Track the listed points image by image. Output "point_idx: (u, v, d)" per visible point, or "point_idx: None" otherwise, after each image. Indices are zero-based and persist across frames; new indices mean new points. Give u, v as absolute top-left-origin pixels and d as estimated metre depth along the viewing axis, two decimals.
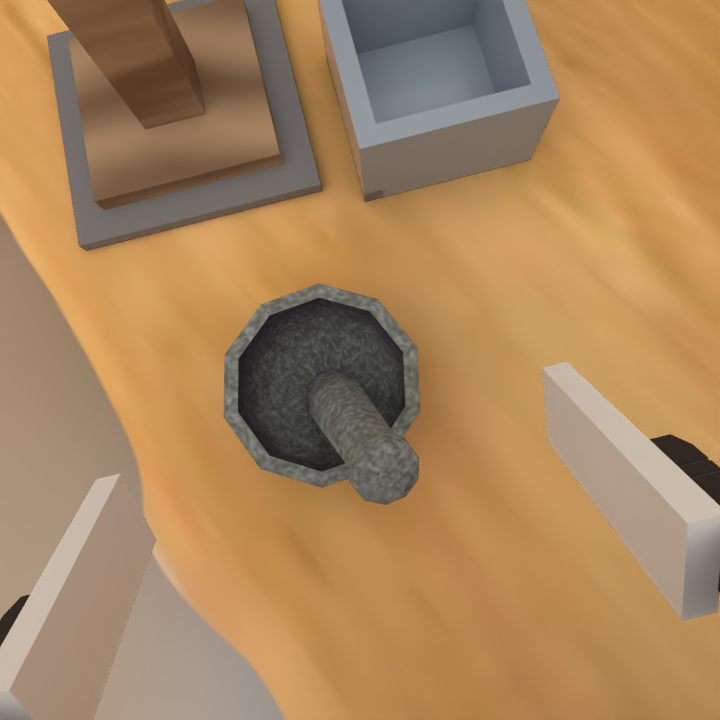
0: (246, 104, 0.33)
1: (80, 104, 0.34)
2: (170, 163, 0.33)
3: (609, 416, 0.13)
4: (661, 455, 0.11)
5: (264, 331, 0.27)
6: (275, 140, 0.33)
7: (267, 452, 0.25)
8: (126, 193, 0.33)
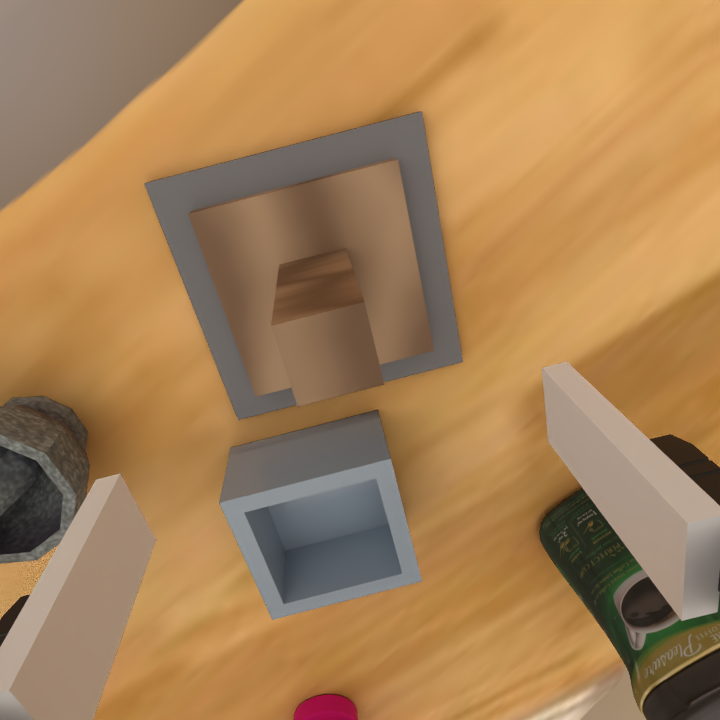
0: None
1: (310, 184, 0.29)
2: (240, 294, 0.31)
3: (609, 416, 0.13)
4: (661, 455, 0.11)
5: None
6: (269, 392, 0.34)
7: None
8: None
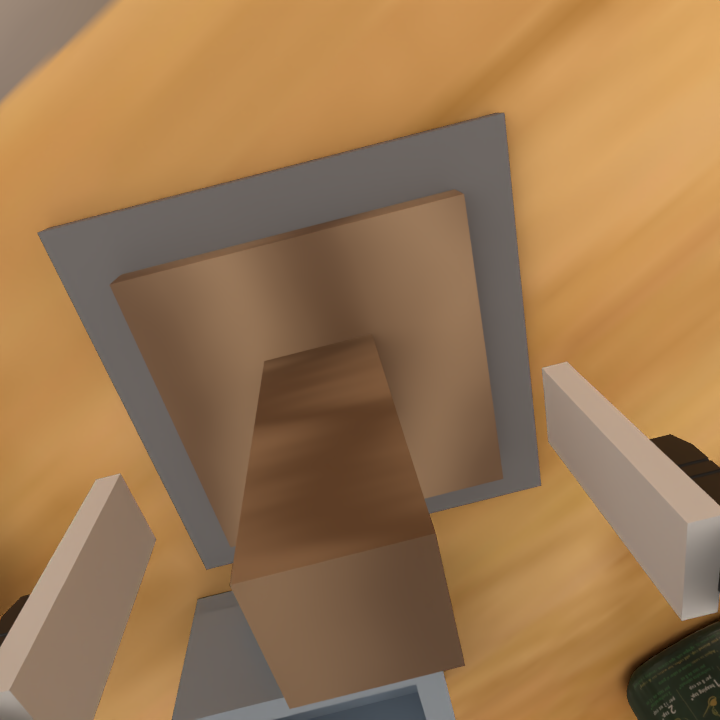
0: None
1: (315, 235, 0.17)
2: (202, 406, 0.19)
3: (609, 416, 0.13)
4: (661, 455, 0.11)
5: None
6: None
7: None
8: (136, 340, 0.18)
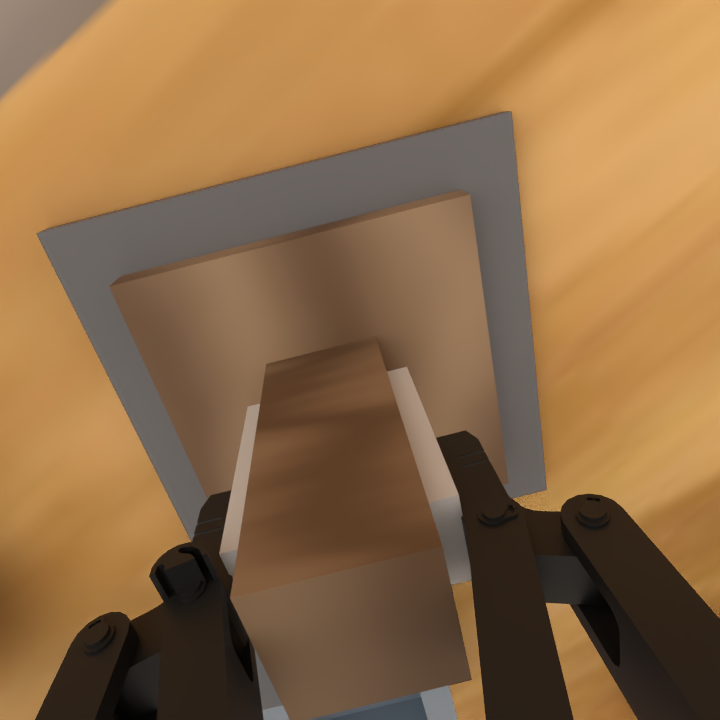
0: None
1: (318, 237, 0.17)
2: (202, 410, 0.19)
3: (414, 414, 0.15)
4: (436, 447, 0.13)
5: None
6: None
7: None
8: (136, 343, 0.18)
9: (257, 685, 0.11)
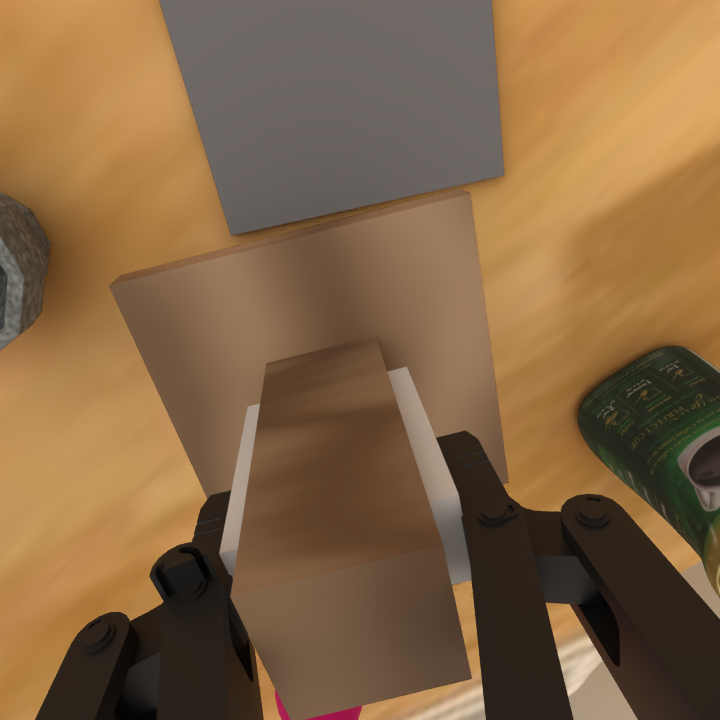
0: None
1: (318, 236, 0.17)
2: (202, 409, 0.19)
3: (414, 414, 0.15)
4: (436, 447, 0.13)
5: None
6: None
7: None
8: (135, 342, 0.18)
9: (257, 685, 0.11)
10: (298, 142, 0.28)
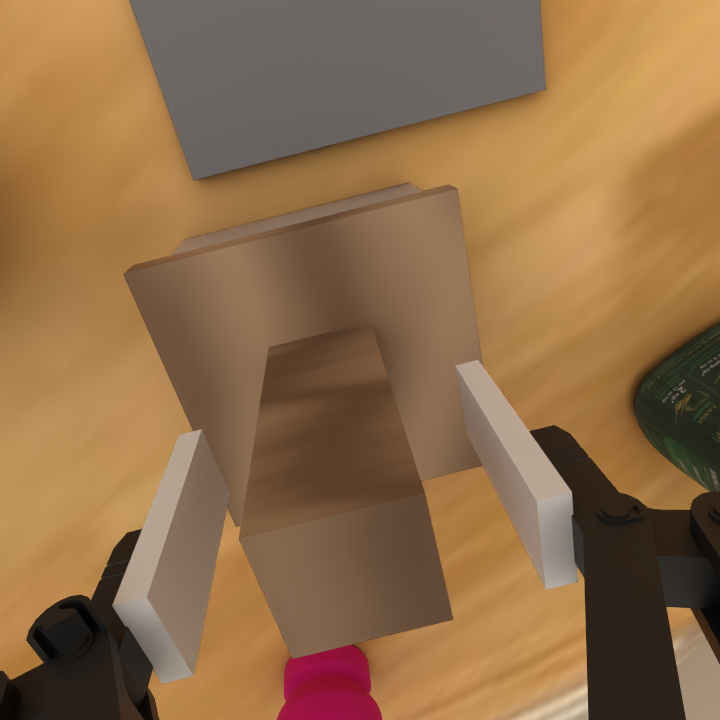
0: None
1: (317, 228, 0.18)
2: (209, 390, 0.20)
3: (500, 409, 0.14)
4: (533, 442, 0.13)
5: None
6: None
7: None
8: (147, 327, 0.19)
9: None
10: (275, 49, 0.21)
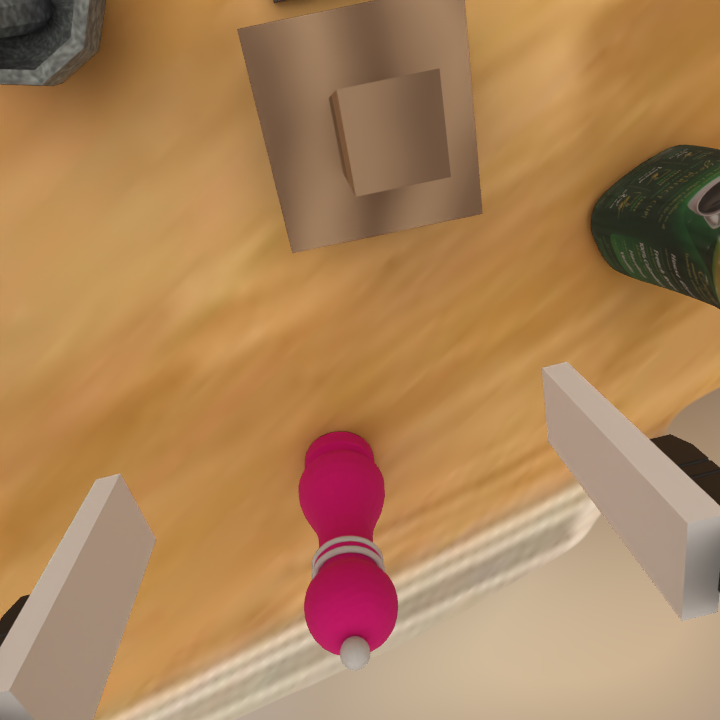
0: (350, 218, 0.32)
1: (368, 4, 0.27)
2: (284, 130, 0.29)
3: (609, 416, 0.13)
4: (661, 455, 0.11)
5: None
6: (307, 248, 0.32)
7: None
8: (248, 74, 0.28)
9: None
10: None
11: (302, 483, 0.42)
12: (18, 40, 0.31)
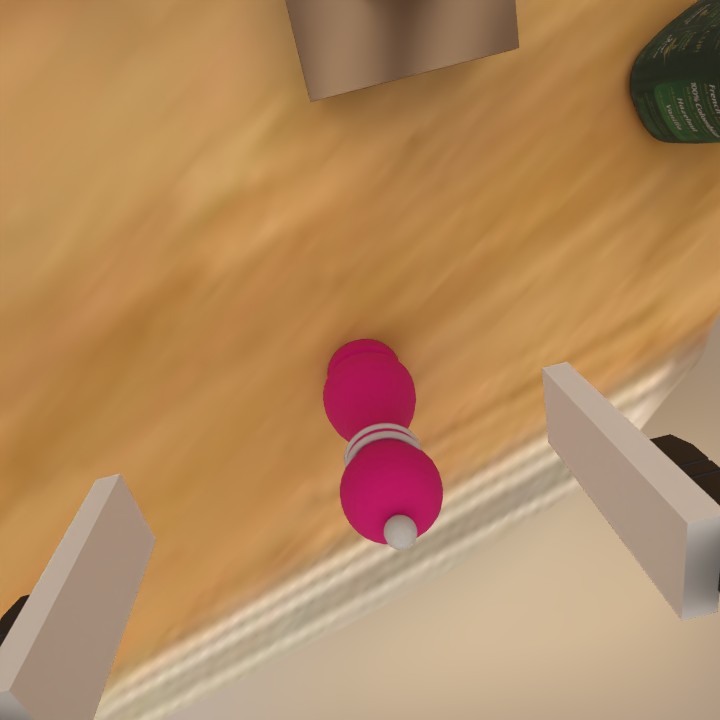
0: (374, 57, 0.29)
1: None
2: None
3: (609, 416, 0.13)
4: (661, 455, 0.11)
5: None
6: (327, 95, 0.29)
7: None
8: None
9: None
10: None
11: (327, 387, 0.39)
12: None
